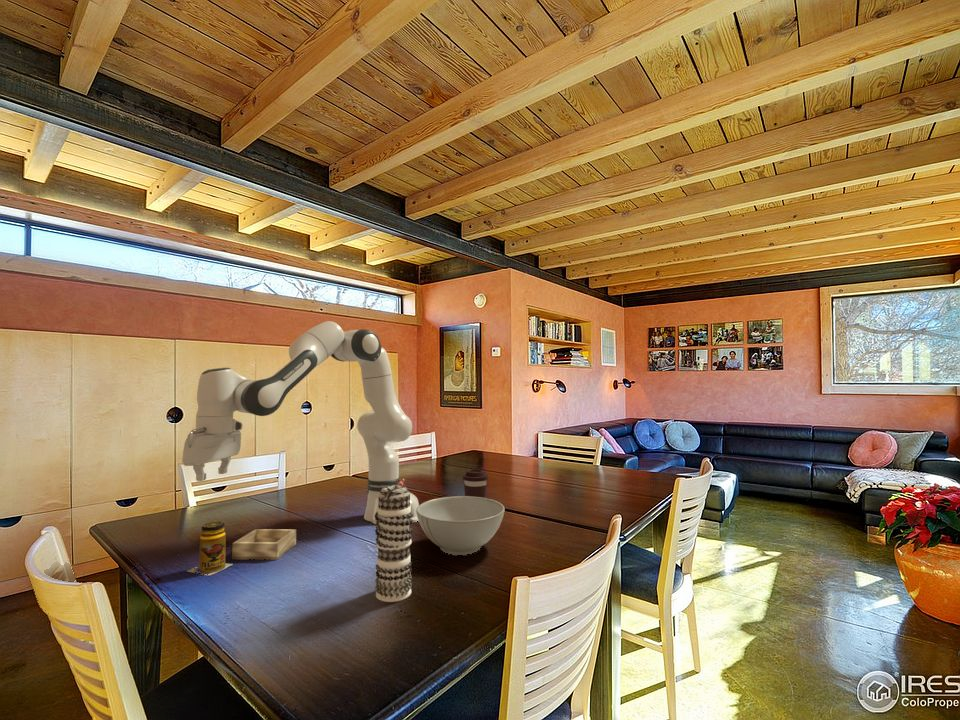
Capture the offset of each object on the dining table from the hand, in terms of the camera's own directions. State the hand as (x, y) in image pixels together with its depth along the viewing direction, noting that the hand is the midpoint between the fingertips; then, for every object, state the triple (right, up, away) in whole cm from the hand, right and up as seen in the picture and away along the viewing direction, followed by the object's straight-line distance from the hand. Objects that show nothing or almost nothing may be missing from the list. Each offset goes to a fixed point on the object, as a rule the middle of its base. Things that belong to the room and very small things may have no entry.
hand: (212, 476), depth 121 cm
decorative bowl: (+68, -25, +13) cm, 73 cm away
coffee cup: (+72, -27, +53) cm, 93 cm away
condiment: (0, -25, -1) cm, 25 cm away
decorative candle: (+53, -24, -16) cm, 60 cm away
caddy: (+10, -25, +10) cm, 29 cm away
